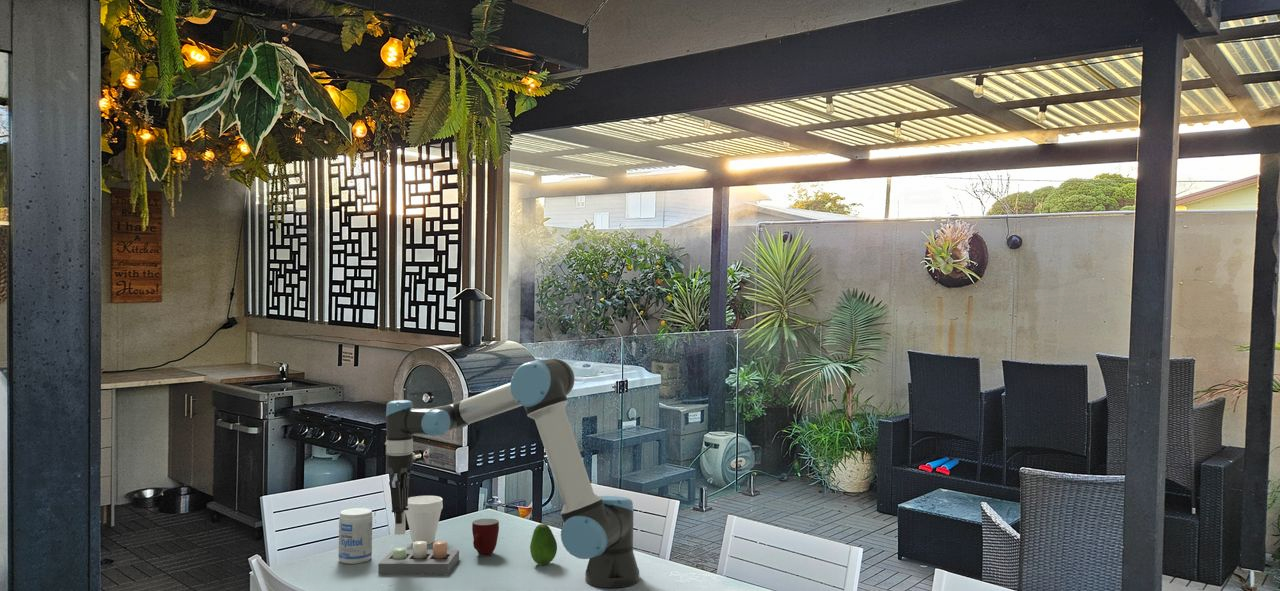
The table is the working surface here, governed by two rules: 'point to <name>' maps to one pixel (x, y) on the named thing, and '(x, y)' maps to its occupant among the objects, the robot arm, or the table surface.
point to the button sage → (400, 553)
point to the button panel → (418, 564)
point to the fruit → (543, 545)
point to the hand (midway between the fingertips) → (400, 533)
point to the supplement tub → (355, 535)
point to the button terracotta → (440, 549)
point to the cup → (423, 517)
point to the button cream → (420, 549)
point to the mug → (485, 535)
